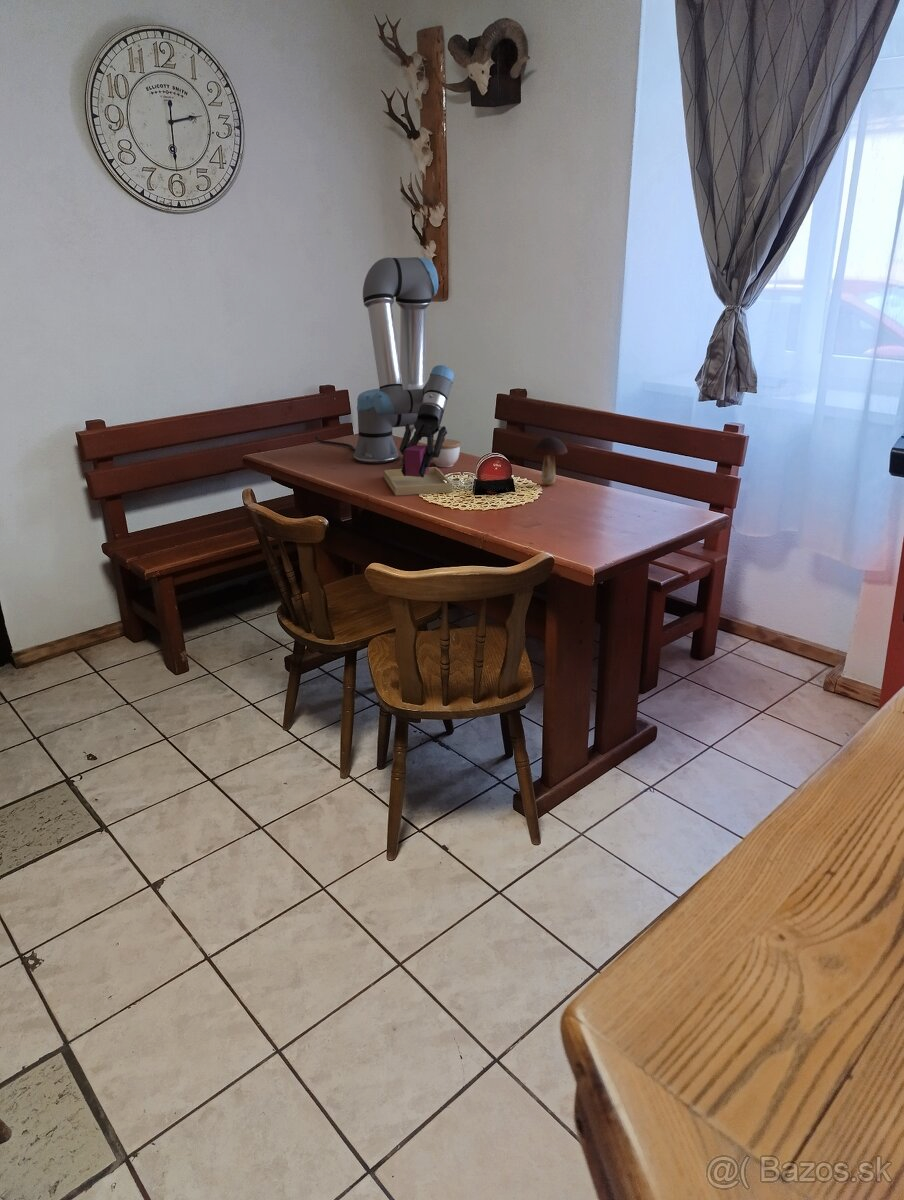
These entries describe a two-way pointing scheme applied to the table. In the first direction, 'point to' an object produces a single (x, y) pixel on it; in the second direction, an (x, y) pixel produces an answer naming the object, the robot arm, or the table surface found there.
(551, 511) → the table surface
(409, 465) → the mulberry block
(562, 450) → the decorative mushroom
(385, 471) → the tray
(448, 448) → the trinket box
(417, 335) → the robot arm
